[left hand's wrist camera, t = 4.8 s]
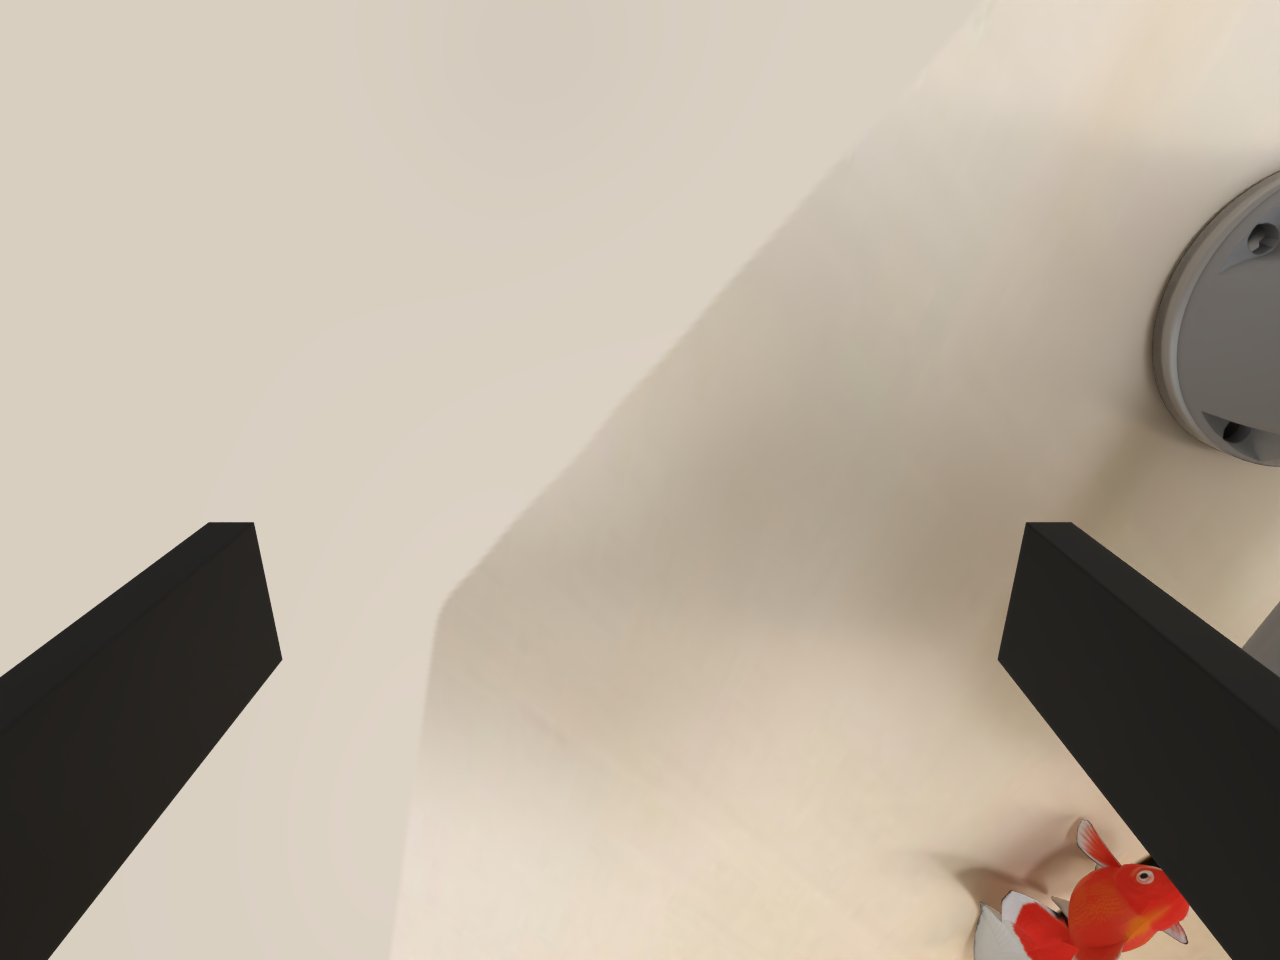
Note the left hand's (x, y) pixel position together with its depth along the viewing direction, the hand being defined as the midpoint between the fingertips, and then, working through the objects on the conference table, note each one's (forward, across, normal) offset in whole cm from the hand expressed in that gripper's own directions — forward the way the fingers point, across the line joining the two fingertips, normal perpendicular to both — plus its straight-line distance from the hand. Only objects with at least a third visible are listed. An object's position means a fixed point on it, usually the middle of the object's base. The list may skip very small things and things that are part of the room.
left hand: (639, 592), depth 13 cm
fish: (+27, +28, -38) cm, 55 cm away
